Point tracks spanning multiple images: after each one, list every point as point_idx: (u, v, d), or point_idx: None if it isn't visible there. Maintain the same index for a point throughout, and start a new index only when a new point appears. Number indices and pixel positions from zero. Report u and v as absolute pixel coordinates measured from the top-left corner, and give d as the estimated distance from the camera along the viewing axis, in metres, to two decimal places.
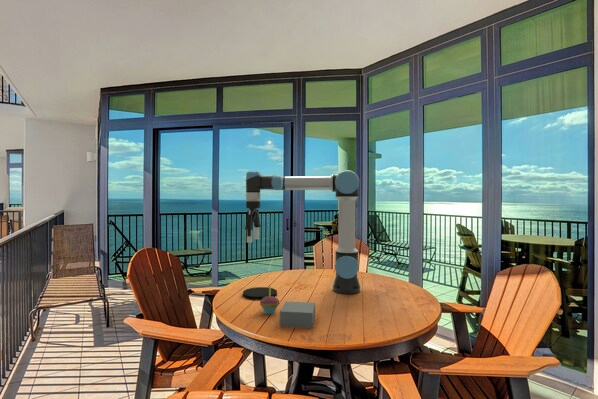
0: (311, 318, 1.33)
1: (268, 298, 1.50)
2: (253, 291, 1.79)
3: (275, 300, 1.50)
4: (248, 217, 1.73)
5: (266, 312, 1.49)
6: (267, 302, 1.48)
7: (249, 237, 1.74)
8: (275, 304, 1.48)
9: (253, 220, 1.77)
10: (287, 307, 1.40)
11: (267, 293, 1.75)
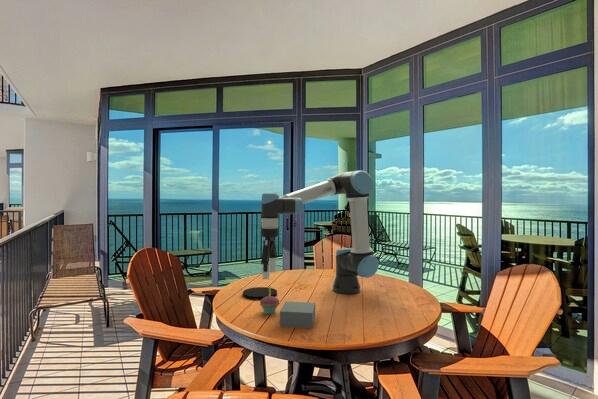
0: (311, 318, 1.33)
1: (268, 298, 1.50)
2: (253, 291, 1.79)
3: (275, 300, 1.50)
4: (264, 248, 1.44)
5: (266, 312, 1.49)
6: (267, 302, 1.48)
7: (265, 273, 1.44)
8: (275, 304, 1.48)
9: (270, 251, 1.47)
10: (287, 307, 1.40)
11: (267, 293, 1.75)
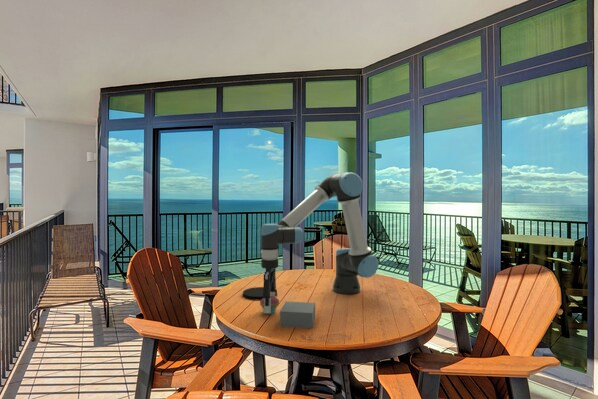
0: (311, 318, 1.33)
1: None
2: (253, 291, 1.79)
3: (275, 300, 1.50)
4: (265, 283, 1.45)
5: None
6: None
7: (267, 307, 1.47)
8: (275, 304, 1.48)
9: (271, 284, 1.49)
10: (287, 307, 1.40)
11: None
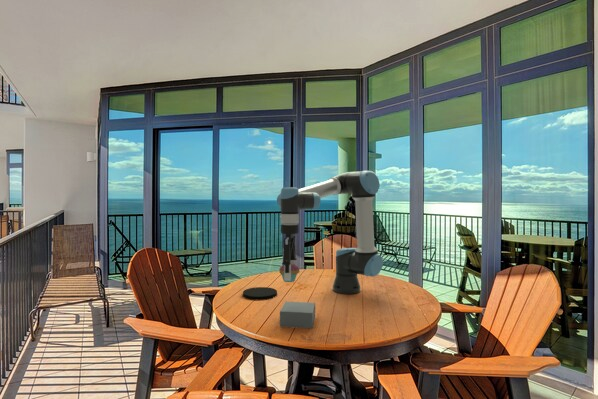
0: (311, 318, 1.33)
1: None
2: (253, 291, 1.79)
3: (295, 267, 1.42)
4: (285, 248, 1.37)
5: None
6: None
7: (287, 274, 1.39)
8: (295, 271, 1.40)
9: (291, 250, 1.41)
10: (287, 307, 1.40)
11: (267, 293, 1.75)
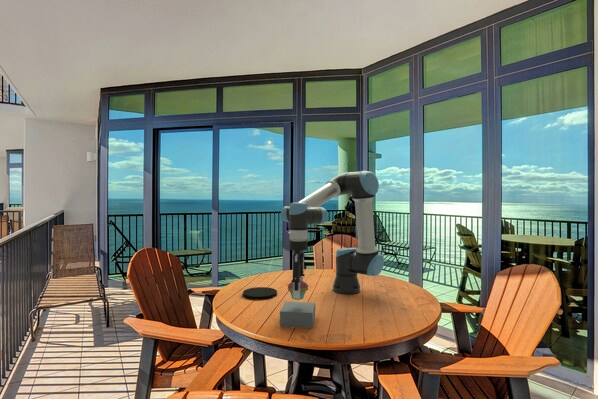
0: (311, 318, 1.33)
1: None
2: (253, 291, 1.79)
3: (304, 285, 1.39)
4: (294, 266, 1.34)
5: None
6: None
7: (296, 291, 1.36)
8: (304, 289, 1.37)
9: (300, 267, 1.38)
10: (287, 307, 1.40)
11: (267, 293, 1.75)
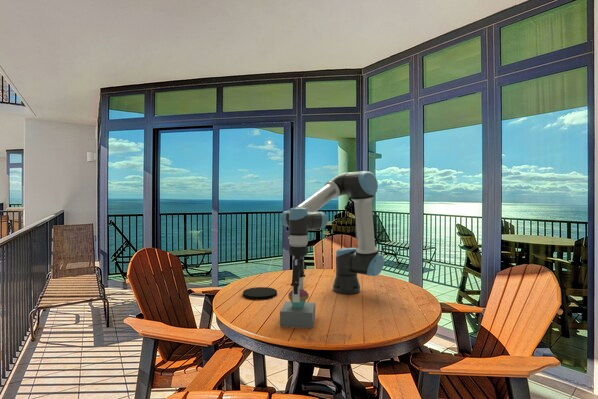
0: (311, 318, 1.33)
1: None
2: (253, 291, 1.79)
3: (305, 293, 1.39)
4: (294, 269, 1.33)
5: (295, 306, 1.39)
6: None
7: (296, 295, 1.34)
8: (305, 297, 1.38)
9: (300, 272, 1.37)
10: (287, 307, 1.40)
11: (267, 293, 1.75)
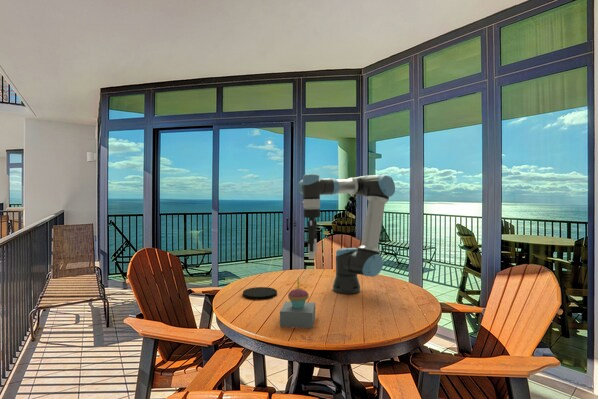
0: (311, 318, 1.33)
1: (297, 291, 1.39)
2: (253, 291, 1.79)
3: (305, 293, 1.39)
4: (309, 229, 1.45)
5: (295, 306, 1.39)
6: (296, 295, 1.37)
7: (311, 252, 1.46)
8: (305, 297, 1.38)
9: (314, 232, 1.49)
10: (287, 307, 1.40)
11: (267, 293, 1.75)
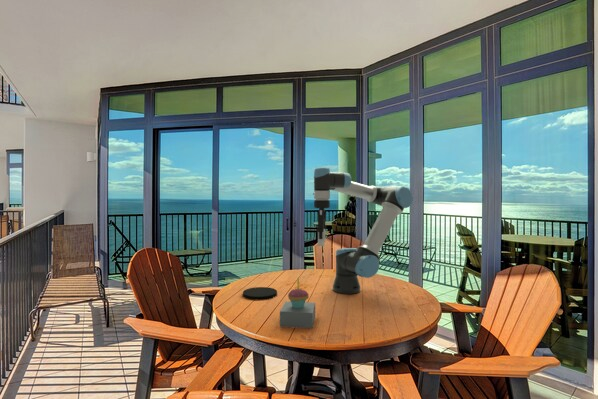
0: (311, 318, 1.33)
1: (297, 291, 1.39)
2: (253, 291, 1.79)
3: (305, 293, 1.39)
4: (319, 218, 1.57)
5: (295, 306, 1.39)
6: (296, 295, 1.37)
7: (320, 240, 1.57)
8: (305, 297, 1.38)
9: (323, 221, 1.60)
10: (287, 307, 1.40)
11: (267, 293, 1.75)
